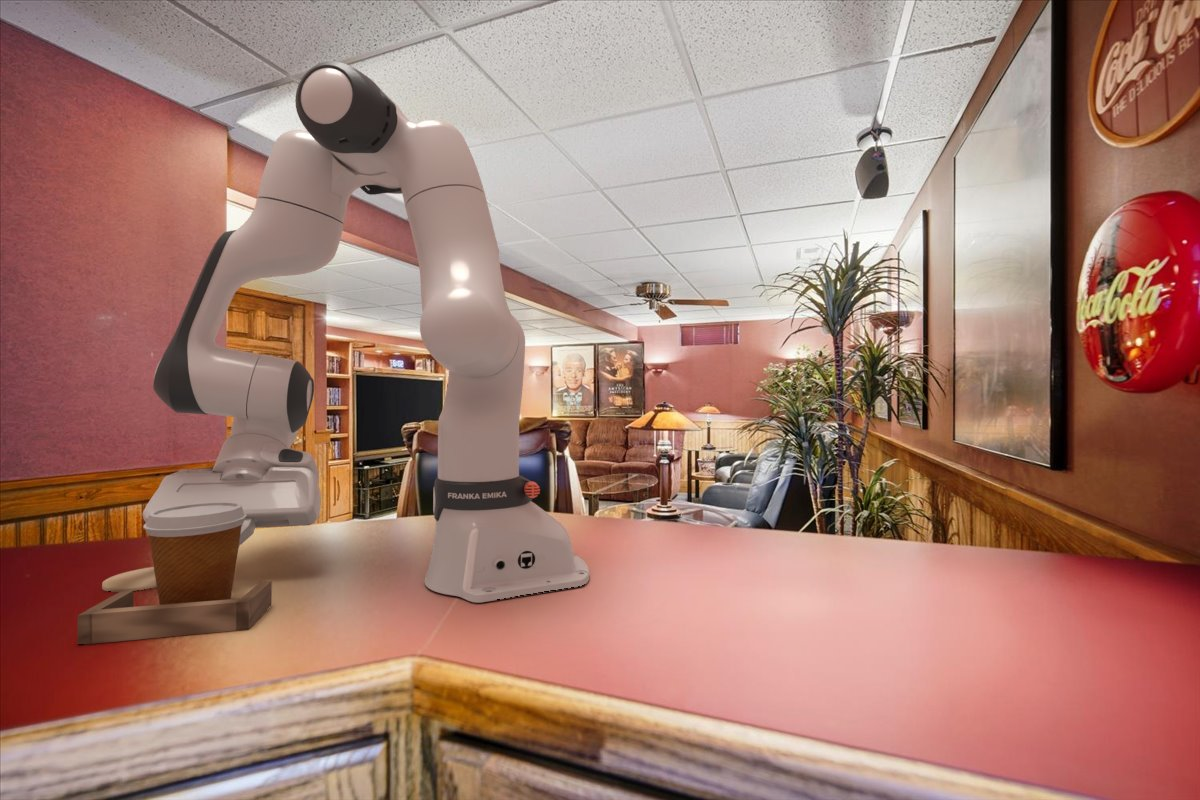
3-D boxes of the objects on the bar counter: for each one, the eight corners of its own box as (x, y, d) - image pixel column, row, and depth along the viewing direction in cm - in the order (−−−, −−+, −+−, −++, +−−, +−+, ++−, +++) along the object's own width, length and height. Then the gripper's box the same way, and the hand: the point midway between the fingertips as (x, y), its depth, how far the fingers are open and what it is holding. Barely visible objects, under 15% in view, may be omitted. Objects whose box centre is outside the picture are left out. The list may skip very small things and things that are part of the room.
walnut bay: (271, 605, 63) (271, 580, 63) (248, 629, 56) (248, 601, 56) (120, 617, 59) (120, 591, 59) (77, 645, 53) (77, 615, 53)
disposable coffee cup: (192, 633, 55) (193, 520, 56) (119, 626, 57) (119, 516, 57) (265, 599, 65) (265, 503, 65) (199, 594, 67) (200, 500, 67)
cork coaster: (201, 567, 77) (201, 563, 77) (167, 588, 68) (167, 584, 68) (128, 572, 75) (128, 568, 75) (84, 594, 66) (84, 590, 66)
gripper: (159, 456, 72) (112, 546, 62) (323, 453, 77) (303, 536, 67) (176, 483, 76) (134, 572, 66) (330, 479, 81) (312, 561, 72)
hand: (221, 554), depth 67 cm, fingers closed
